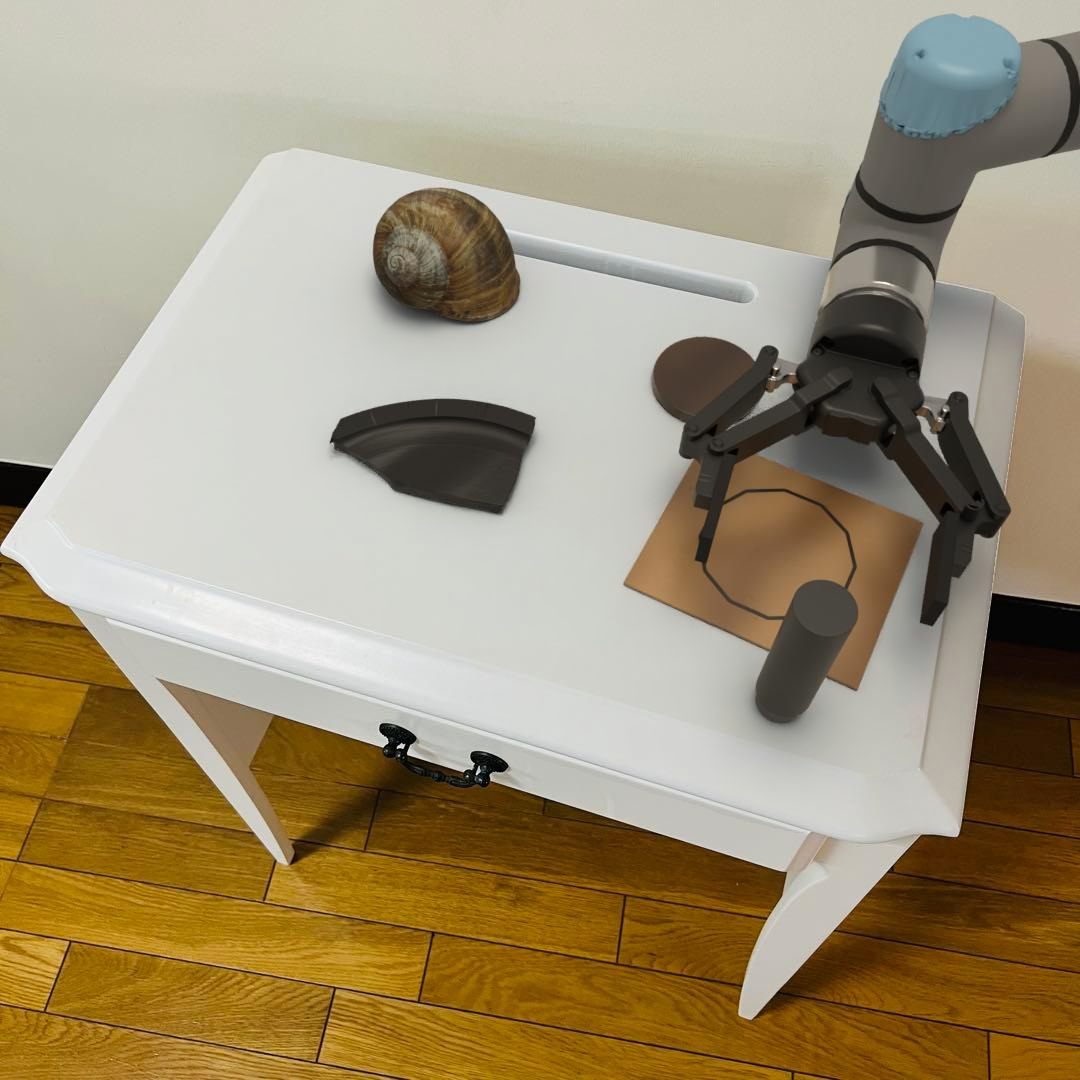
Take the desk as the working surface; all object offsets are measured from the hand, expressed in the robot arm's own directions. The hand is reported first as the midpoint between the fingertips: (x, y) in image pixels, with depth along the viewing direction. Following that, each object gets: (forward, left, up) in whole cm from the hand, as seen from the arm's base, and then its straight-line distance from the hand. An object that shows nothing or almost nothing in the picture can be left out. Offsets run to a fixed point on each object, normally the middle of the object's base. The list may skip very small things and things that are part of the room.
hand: (816, 582), depth 61 cm
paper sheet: (+3, -5, -7) cm, 9 cm away
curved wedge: (+27, -2, -7) cm, 28 cm away
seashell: (+35, -16, -7) cm, 39 cm away
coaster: (+13, -17, -7) cm, 22 cm away
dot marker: (-1, +5, -7) cm, 8 cm away
